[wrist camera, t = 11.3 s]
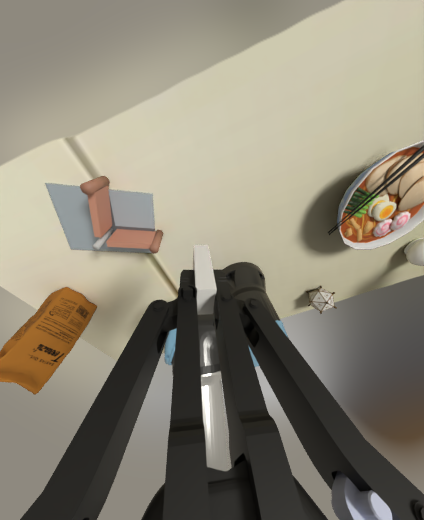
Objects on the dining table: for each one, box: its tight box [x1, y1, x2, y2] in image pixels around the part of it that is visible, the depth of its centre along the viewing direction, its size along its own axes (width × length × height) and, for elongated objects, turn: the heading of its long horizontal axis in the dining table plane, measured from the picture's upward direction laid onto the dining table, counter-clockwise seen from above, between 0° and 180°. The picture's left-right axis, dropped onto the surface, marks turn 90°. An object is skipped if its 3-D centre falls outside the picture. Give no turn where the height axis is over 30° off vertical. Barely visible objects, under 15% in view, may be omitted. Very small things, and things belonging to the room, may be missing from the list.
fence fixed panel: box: [92, 229, 163, 253], centre depth 37 cm, size 2×12×8 cm, turn 83°
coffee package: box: [0, 287, 97, 394], centre depth 42 cm, size 10×12×22 cm
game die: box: [306, 286, 336, 313], centre depth 58 cm, size 9×8×10 cm
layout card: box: [45, 183, 155, 253], centre depth 39 cm, size 15×20×1 cm
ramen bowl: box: [328, 141, 424, 250], centre depth 39 cm, size 25×23×8 cm
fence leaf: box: [80, 176, 112, 238], centre depth 33 cm, size 2×10×7 cm, turn 167°
